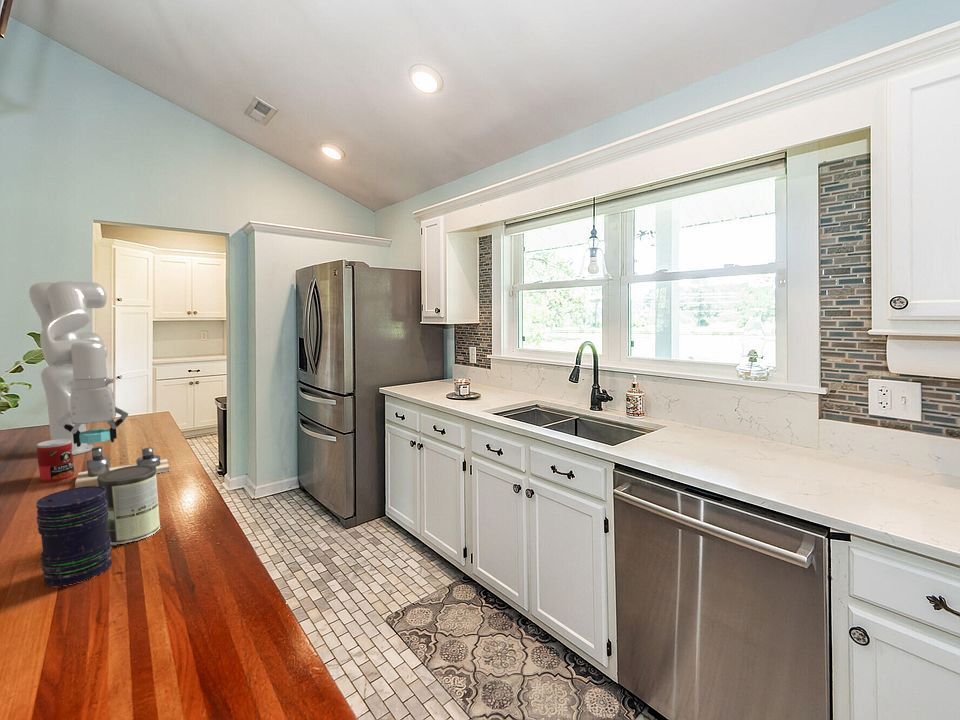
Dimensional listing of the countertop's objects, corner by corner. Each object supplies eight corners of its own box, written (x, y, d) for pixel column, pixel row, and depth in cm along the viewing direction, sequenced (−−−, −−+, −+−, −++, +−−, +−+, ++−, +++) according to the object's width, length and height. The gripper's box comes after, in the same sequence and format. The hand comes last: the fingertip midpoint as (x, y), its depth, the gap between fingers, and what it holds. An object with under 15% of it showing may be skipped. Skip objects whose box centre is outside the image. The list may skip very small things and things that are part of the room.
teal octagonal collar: (81, 438, 137) (80, 431, 136) (111, 435, 141) (110, 427, 141) (79, 444, 131) (78, 436, 131) (110, 440, 135) (109, 432, 135)
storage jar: (109, 553, 94) (103, 482, 92) (116, 572, 87) (109, 495, 85) (42, 572, 87) (34, 495, 85) (43, 594, 80) (35, 511, 78)
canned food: (54, 483, 133) (50, 446, 132) (32, 481, 135) (28, 445, 134) (81, 474, 141) (78, 439, 140) (60, 472, 142) (57, 438, 141)
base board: (79, 477, 138) (78, 472, 138) (167, 462, 151) (167, 458, 151) (75, 488, 129) (74, 483, 129) (169, 471, 142) (169, 467, 142)
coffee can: (90, 547, 96) (84, 481, 95) (124, 524, 106) (119, 465, 105) (142, 544, 97) (137, 479, 96) (170, 522, 107) (166, 464, 106)
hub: (136, 465, 144) (135, 448, 144) (160, 461, 148) (158, 444, 147) (136, 470, 140) (135, 452, 139) (160, 466, 143) (159, 449, 143)
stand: (88, 473, 137) (86, 447, 136) (110, 470, 140) (108, 444, 139) (87, 478, 133) (85, 451, 132) (109, 474, 136) (107, 448, 135)
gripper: (128, 380, 142) (132, 436, 144) (52, 385, 132) (58, 445, 134) (128, 383, 136) (132, 441, 138) (48, 388, 126) (54, 451, 128)
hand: (96, 443), depth 136 cm, fingers closed on teal octagonal collar, 7 cm apart
